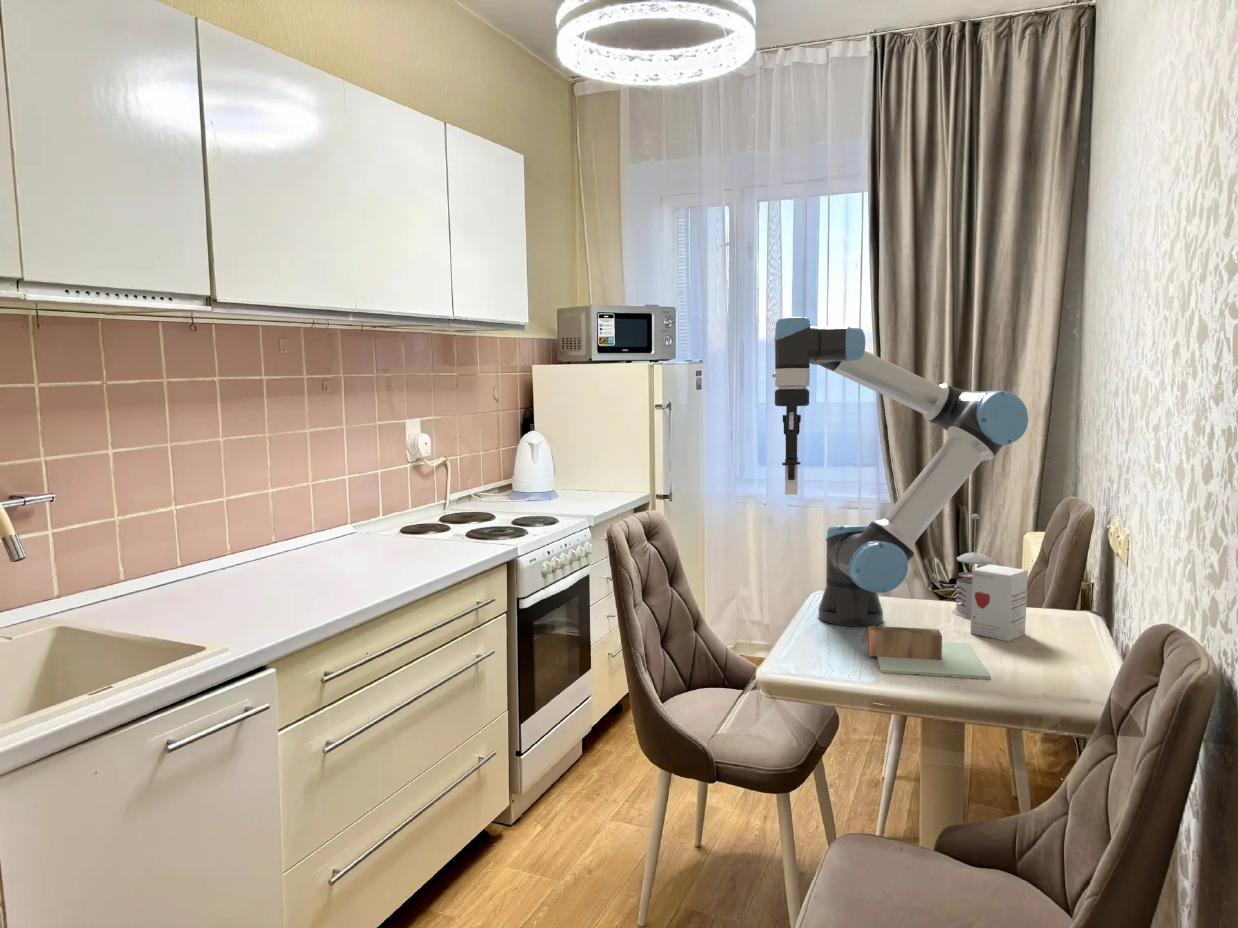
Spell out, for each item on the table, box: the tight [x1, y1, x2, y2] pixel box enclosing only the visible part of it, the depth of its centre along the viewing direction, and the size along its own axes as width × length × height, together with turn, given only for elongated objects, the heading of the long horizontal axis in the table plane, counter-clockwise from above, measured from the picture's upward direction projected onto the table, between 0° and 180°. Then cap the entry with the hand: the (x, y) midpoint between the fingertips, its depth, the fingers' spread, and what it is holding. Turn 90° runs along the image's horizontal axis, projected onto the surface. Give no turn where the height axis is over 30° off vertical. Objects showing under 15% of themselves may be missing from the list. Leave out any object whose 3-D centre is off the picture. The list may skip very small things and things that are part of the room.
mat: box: [876, 641, 992, 680], centre depth 173 cm, size 22×20×1 cm
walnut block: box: [867, 625, 943, 660], centre depth 174 cm, size 5×5×14 cm
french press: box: [951, 513, 993, 619], centre depth 206 cm, size 10×12×25 cm
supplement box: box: [970, 563, 1029, 642], centre depth 190 cm, size 9×9×15 cm
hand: (791, 494), depth 187 cm, fingers closed
